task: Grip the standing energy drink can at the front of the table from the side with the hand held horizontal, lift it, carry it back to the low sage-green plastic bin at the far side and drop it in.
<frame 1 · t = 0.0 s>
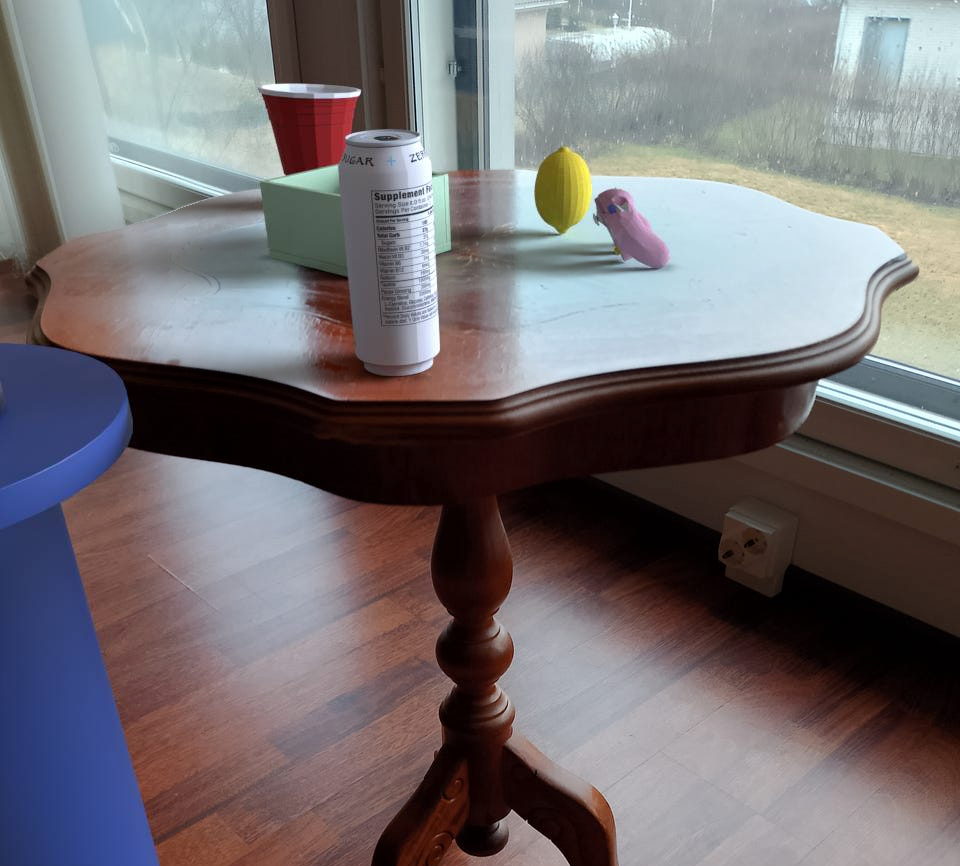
plastic cup: (321, 205, 120), on the table
lemon: (562, 236, 106), on the table
energy drink can: (398, 366, 77), on the table
bin: (360, 253, 102), on the table
pink toy bird: (628, 258, 99), on the table
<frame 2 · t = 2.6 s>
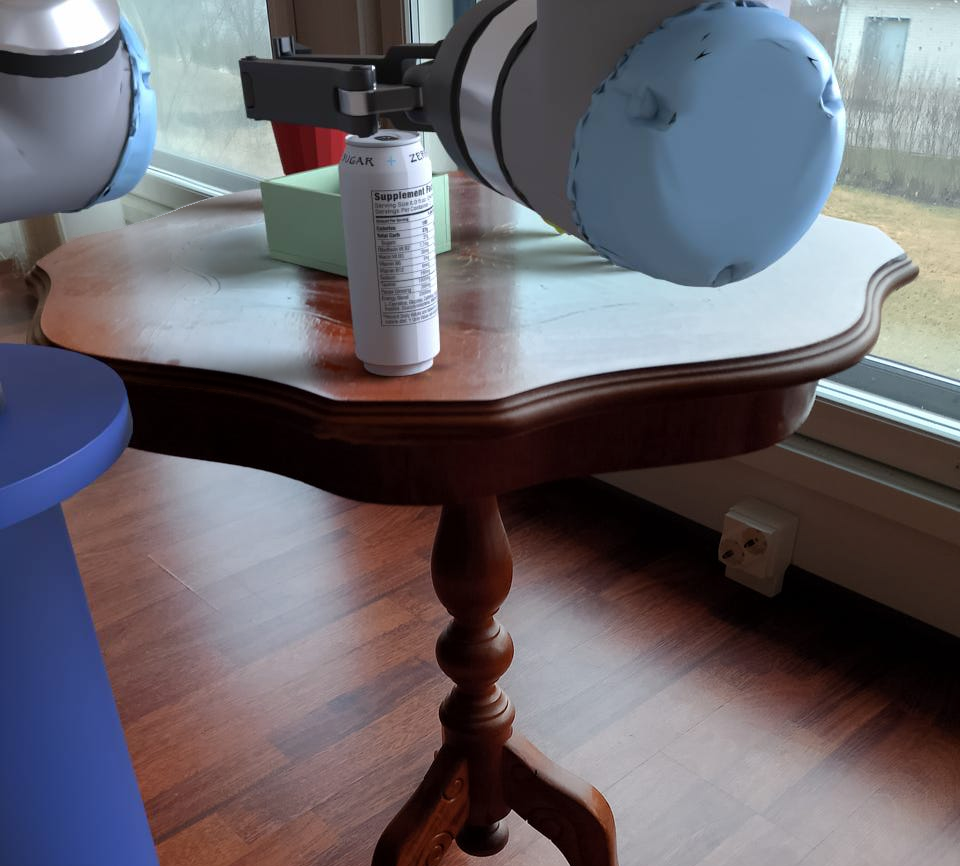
hand: (407, 59, 59), 20 cm above the table, tool horizontal, fingers open, 13 cm apart
nothing on the table moved.
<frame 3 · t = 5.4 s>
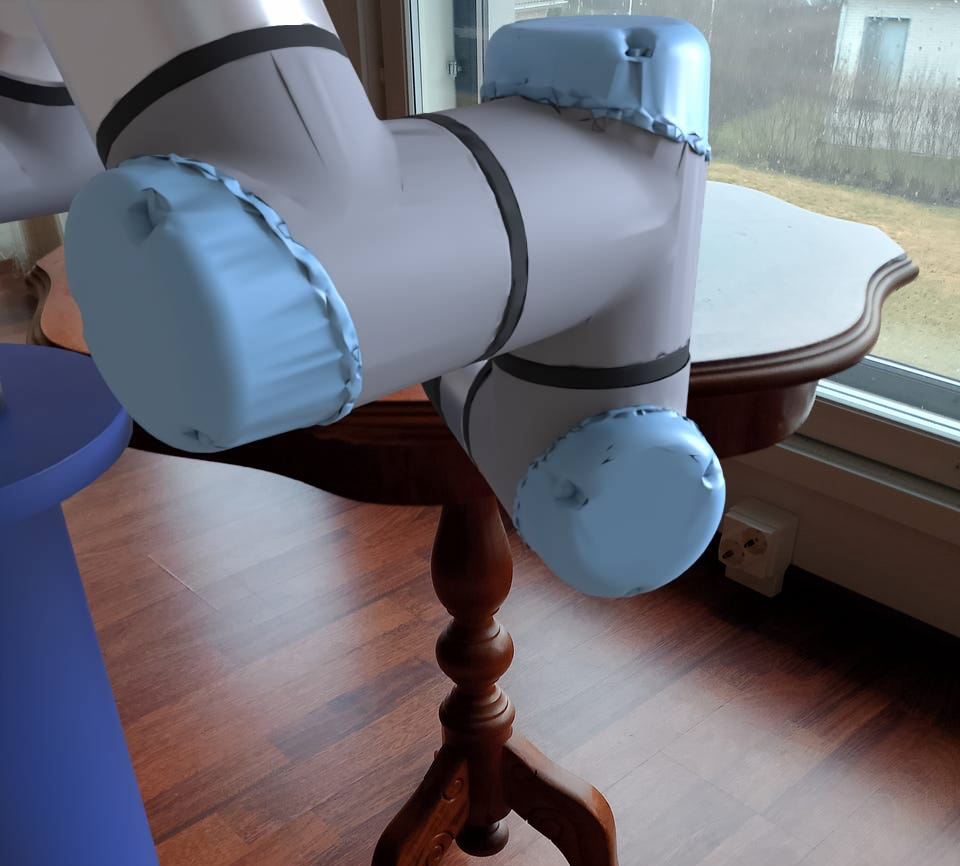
hand: (409, 267, 68), 8 cm above the table, tool horizontal, fingers open, 13 cm apart
nothing on the table moved.
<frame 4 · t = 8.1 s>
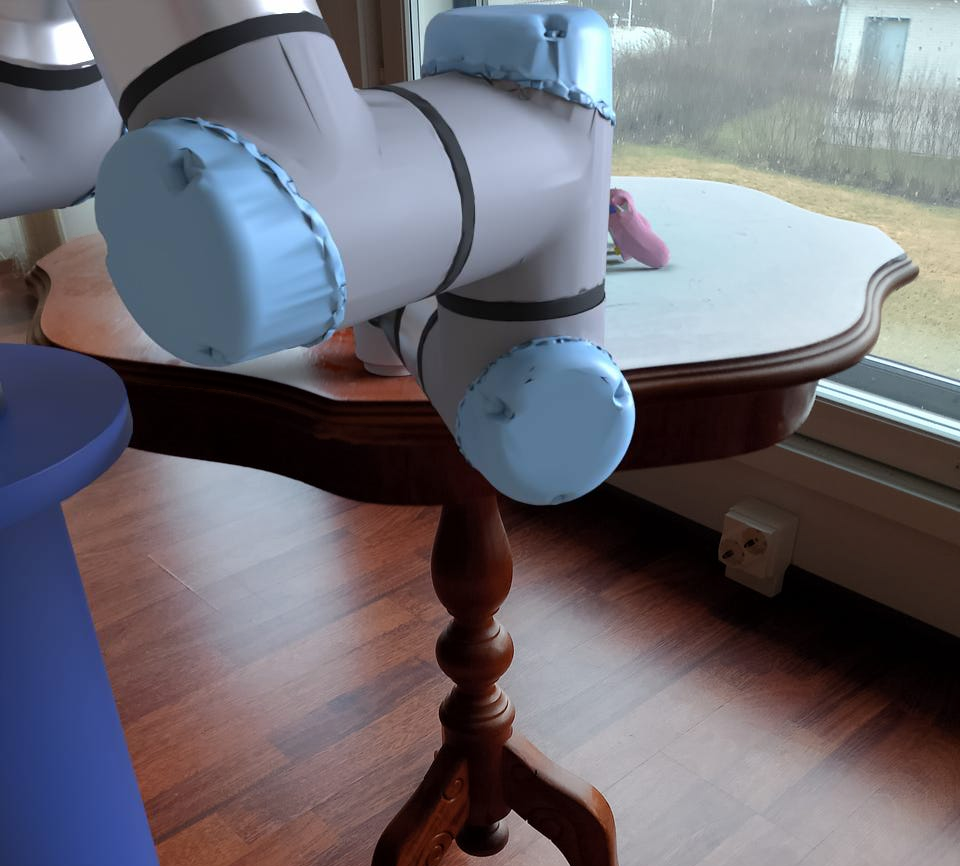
hand: (374, 231, 76), 8 cm above the table, tool horizontal, fingers closed on energy drink can, 6 cm apart
energy drink can: (398, 366, 77), on the table, touching gripper
everything else where it was.
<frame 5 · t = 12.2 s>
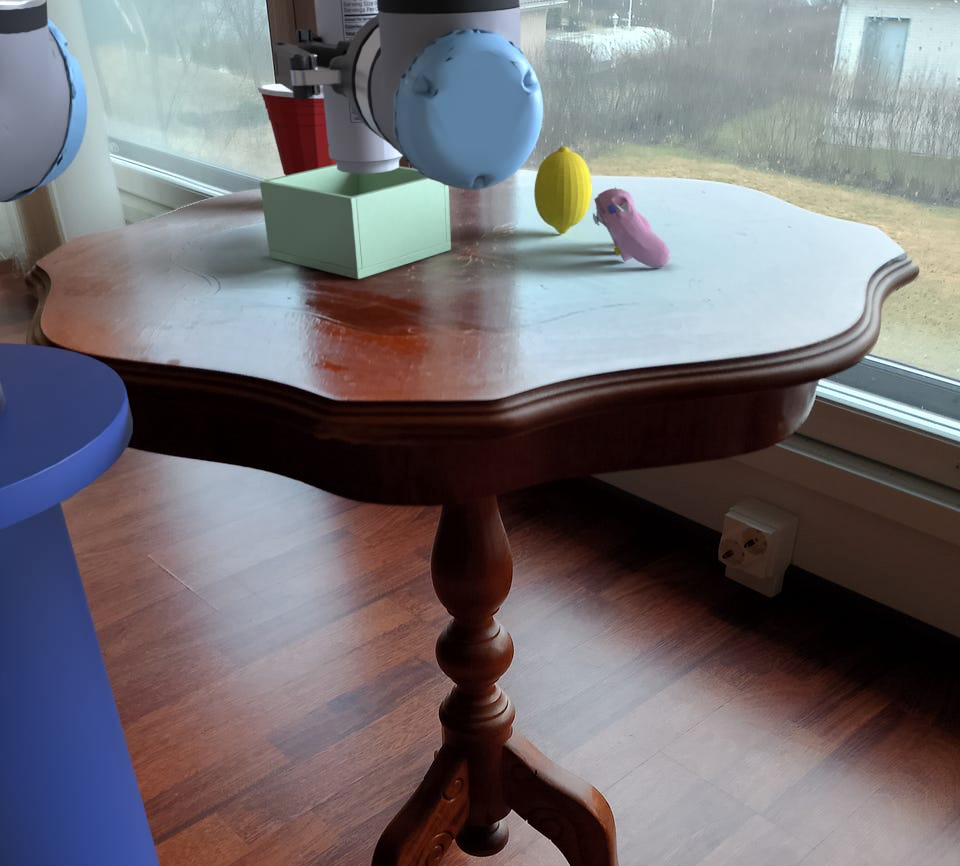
hand: (347, 47, 85), 18 cm above the table, tool horizontal, fingers closed on energy drink can, 6 cm apart
energy drink can: (368, 170, 86), point 10 cm above the table, touching gripper
everything else where it was.
when the fingers open (10 cm above the table, at t = 16.4 s): energy drink can drops 2 cm, resting on bin.
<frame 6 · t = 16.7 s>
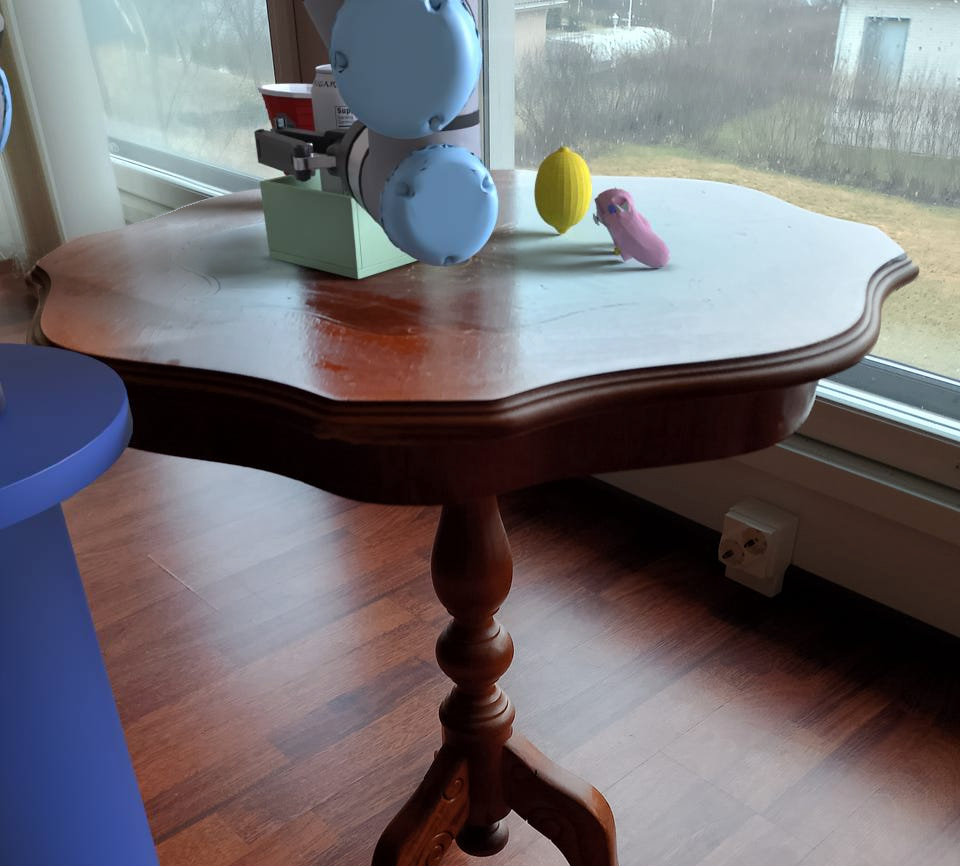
hand: (341, 125, 99), 11 cm above the table, tool horizontal, fingers open, 10 cm apart
energy drink can: (359, 247, 101), point 1 cm above the table, touching bin
everything else where it was.
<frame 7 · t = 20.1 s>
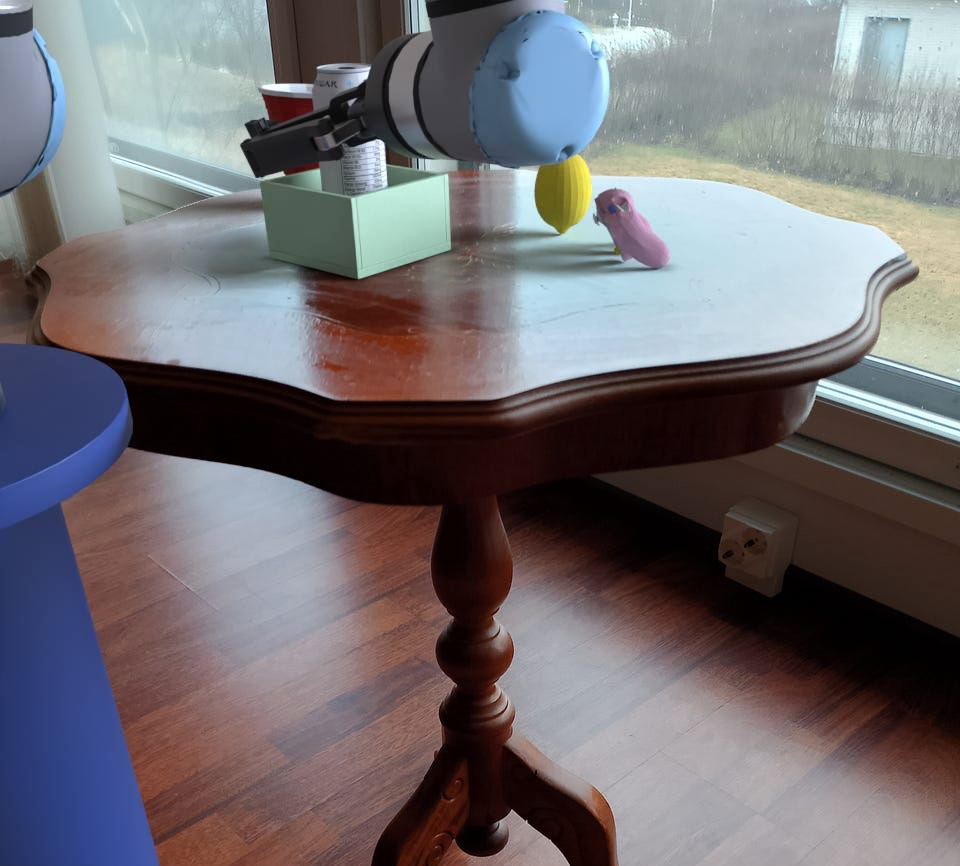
hand: (328, 100, 86), 14 cm above the table, tool horizontal, fingers open, 13 cm apart
nothing on the table moved.
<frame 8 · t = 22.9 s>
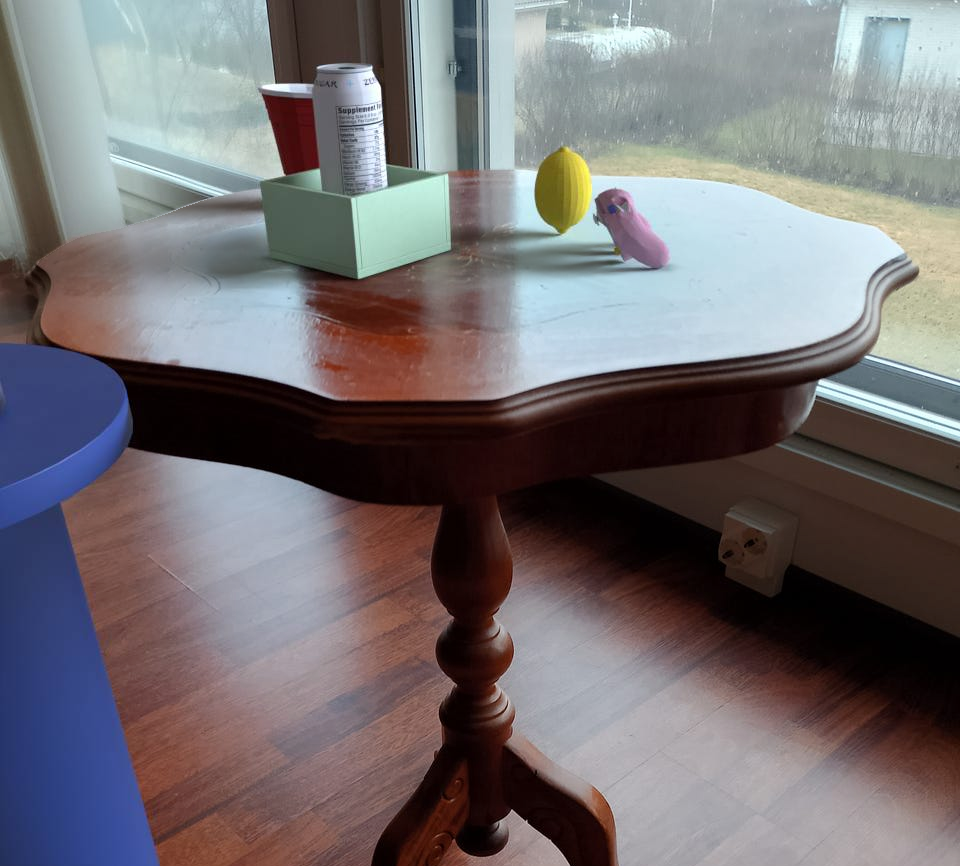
nothing on the table moved.
at the end: energy drink can inside the target area in the bin (0.1 cm from its centre), point 0.6 cm above the bin's base; the gripper is holding nothing; energy drink can moved 30.6 cm from its start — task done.
